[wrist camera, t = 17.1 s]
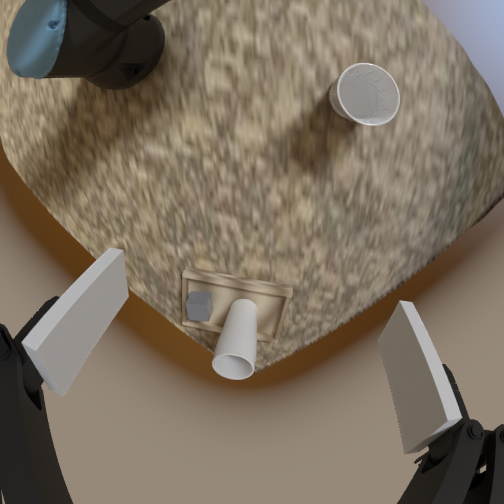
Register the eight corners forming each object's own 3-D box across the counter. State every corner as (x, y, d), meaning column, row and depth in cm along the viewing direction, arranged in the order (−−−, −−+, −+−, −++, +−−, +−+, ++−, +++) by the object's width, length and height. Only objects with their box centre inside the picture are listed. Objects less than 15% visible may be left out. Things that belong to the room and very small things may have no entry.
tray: (185, 317, 57) (182, 324, 55) (186, 266, 51) (182, 273, 49) (277, 335, 57) (277, 343, 55) (292, 286, 51) (292, 294, 49)
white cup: (359, 132, 37) (381, 138, 28) (315, 105, 36) (325, 102, 27) (382, 92, 33) (409, 89, 24) (339, 64, 32) (355, 50, 23)
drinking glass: (229, 290, 52) (212, 349, 39) (265, 297, 52) (258, 358, 39) (225, 317, 55) (209, 375, 42) (258, 323, 55) (250, 383, 42)
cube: (194, 307, 55) (188, 319, 51) (191, 291, 53) (185, 303, 49) (213, 308, 54) (208, 321, 51) (211, 292, 52) (206, 305, 49)
